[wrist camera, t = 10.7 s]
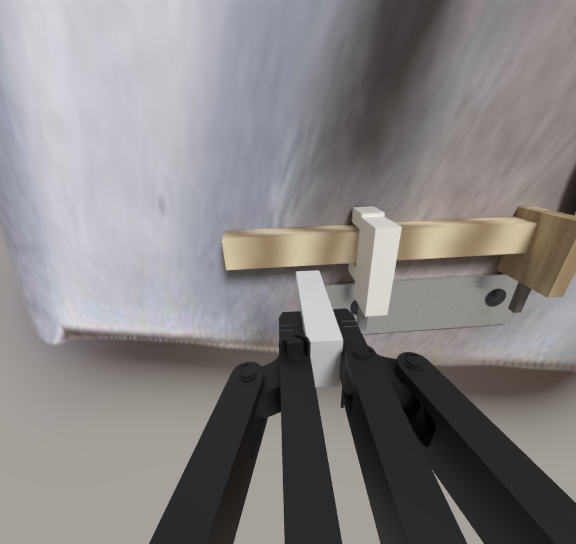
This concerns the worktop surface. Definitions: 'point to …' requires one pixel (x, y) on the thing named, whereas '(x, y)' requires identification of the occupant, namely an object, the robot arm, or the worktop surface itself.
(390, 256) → the slider
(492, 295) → the hole plate
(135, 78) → the worktop surface
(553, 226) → the beam
